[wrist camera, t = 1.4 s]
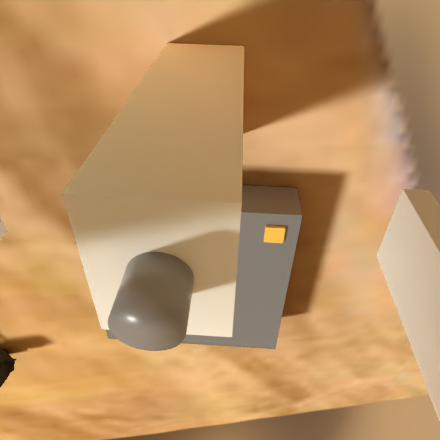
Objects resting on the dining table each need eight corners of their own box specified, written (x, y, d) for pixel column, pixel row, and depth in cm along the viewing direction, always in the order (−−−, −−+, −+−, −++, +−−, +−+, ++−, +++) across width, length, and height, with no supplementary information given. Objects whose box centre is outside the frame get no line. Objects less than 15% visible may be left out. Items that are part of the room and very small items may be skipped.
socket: (118, 309, 33) (107, 340, 31) (86, 177, 25) (68, 205, 22) (273, 319, 33) (275, 351, 30) (296, 187, 24) (302, 217, 22)
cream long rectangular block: (173, 132, 22) (83, 379, 10) (167, 42, 19) (27, 241, 7) (239, 135, 22) (230, 388, 10) (244, 45, 19) (241, 253, 7)
